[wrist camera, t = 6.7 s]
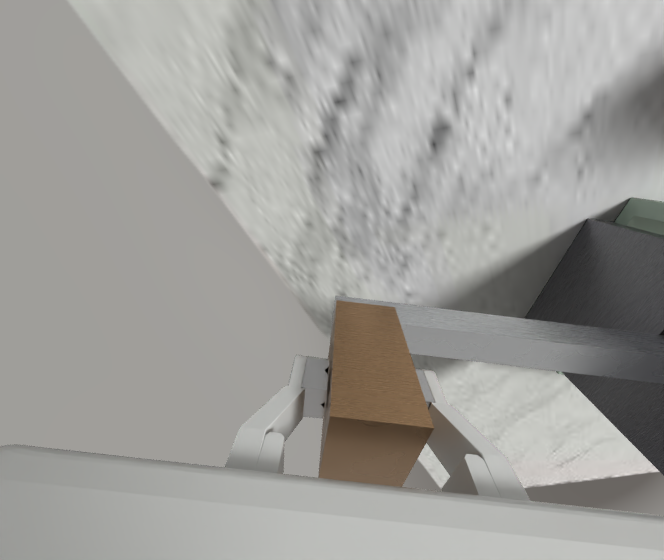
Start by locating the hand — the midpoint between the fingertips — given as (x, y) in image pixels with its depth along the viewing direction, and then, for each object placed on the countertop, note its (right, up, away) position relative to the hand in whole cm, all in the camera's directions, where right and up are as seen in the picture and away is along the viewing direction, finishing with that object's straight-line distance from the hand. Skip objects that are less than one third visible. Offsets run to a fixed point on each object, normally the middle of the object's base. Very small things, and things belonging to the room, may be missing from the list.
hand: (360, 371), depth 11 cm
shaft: (+12, +1, +4) cm, 12 cm away
